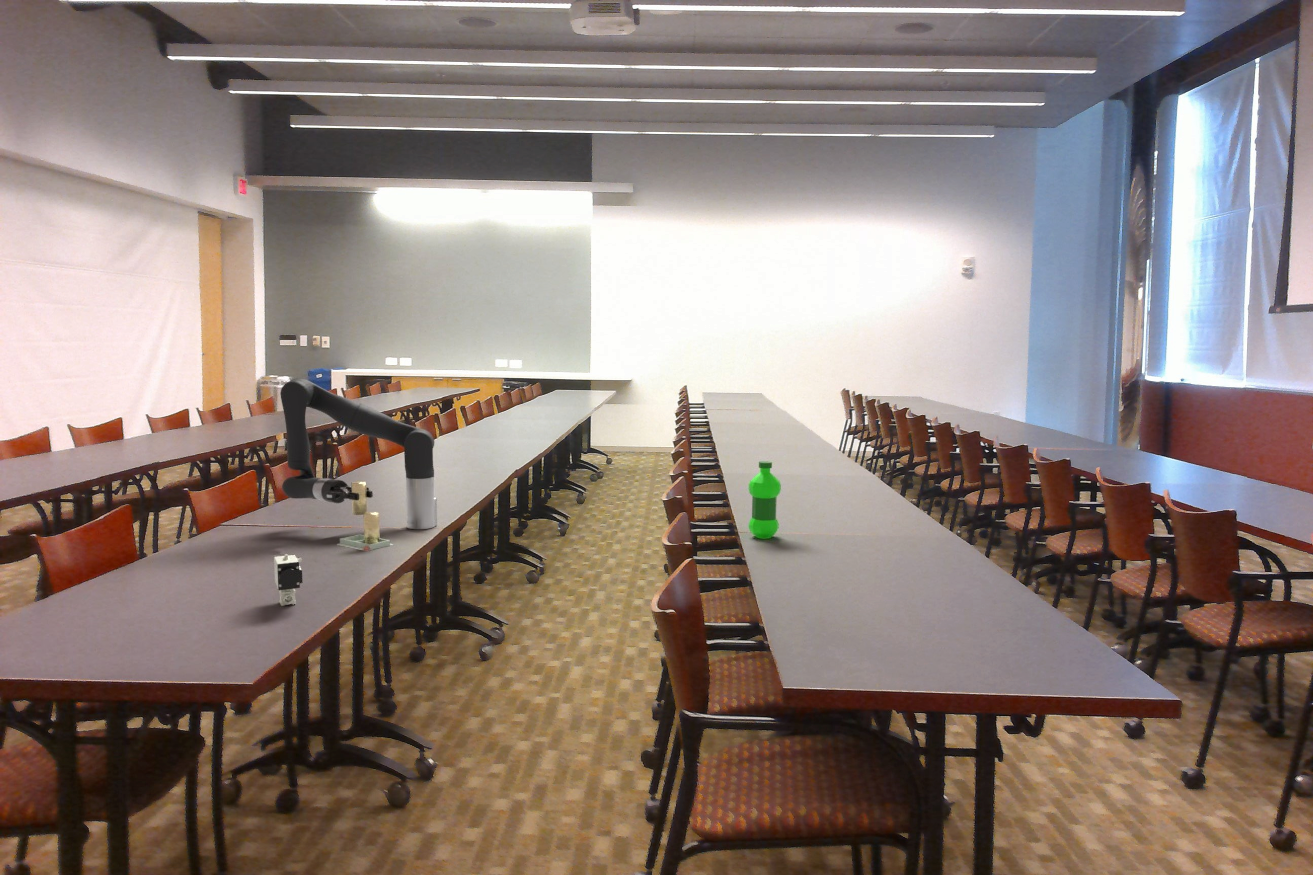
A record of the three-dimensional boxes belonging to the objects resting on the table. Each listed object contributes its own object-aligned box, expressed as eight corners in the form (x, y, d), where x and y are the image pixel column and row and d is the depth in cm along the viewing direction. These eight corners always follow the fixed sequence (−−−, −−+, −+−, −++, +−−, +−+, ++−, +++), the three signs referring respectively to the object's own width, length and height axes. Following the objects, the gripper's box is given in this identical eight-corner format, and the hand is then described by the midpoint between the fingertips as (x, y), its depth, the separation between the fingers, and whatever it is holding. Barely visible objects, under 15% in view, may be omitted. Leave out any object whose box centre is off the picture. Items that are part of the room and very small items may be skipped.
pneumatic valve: (279, 611, 199) (277, 561, 198) (274, 598, 210) (272, 550, 208) (305, 608, 202) (303, 558, 201) (299, 595, 212) (297, 548, 211)
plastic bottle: (770, 532, 289) (772, 459, 287) (784, 539, 279) (786, 463, 277) (743, 534, 286) (744, 460, 284) (756, 541, 276) (758, 464, 274)
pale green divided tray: (363, 542, 268) (363, 533, 267) (393, 549, 260) (393, 539, 260) (336, 549, 259) (336, 539, 259) (366, 555, 252) (366, 545, 252)
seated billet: (373, 543, 261) (372, 511, 260) (383, 545, 259) (382, 512, 257) (360, 546, 257) (360, 513, 256) (370, 548, 255) (370, 515, 254)
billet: (361, 511, 274) (359, 480, 273) (370, 513, 272) (369, 482, 270) (349, 514, 270) (348, 482, 269) (358, 515, 268) (357, 484, 267)
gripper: (310, 482, 272) (345, 487, 262) (348, 476, 284) (382, 480, 274) (311, 505, 272) (346, 511, 263) (349, 498, 284) (383, 503, 275)
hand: (364, 495), depth 269 cm, fingers closed on billet, 4 cm apart
